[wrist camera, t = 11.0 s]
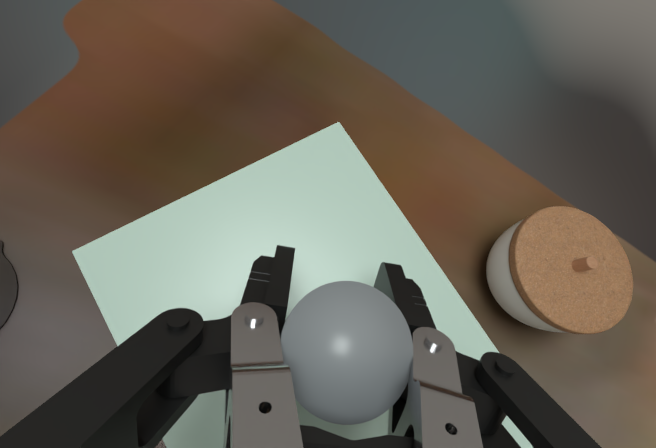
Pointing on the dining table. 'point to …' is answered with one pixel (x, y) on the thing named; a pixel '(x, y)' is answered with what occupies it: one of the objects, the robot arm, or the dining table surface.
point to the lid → (306, 282)
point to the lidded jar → (561, 272)
